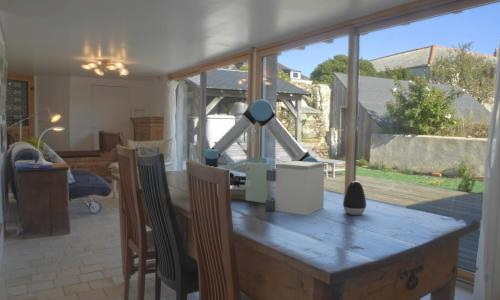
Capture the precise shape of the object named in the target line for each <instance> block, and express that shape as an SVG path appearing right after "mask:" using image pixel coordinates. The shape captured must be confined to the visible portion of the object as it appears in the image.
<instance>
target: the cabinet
mask: <svg viewBox="0 0 500 300" xmlns="http://www.w3.org/2000/svg"><path fill="white" fill-rule="evenodd" d="M318 162H319V161H318ZM318 162H304V161H285V162H279V163H275V169H276V172H275V181H274V184H275V186H274V198H275V211H274V212H281V213H288V214H295V215H301V216H308V215H310V214H313V213H315V212H317V211H319V210H321V209H324V197H325V196H324V192H325V191H324V189H325V162H319V163H318Z"/></svg>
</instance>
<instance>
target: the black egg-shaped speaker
mask: <svg viewBox="0 0 500 300" xmlns="http://www.w3.org/2000/svg"><path fill="white" fill-rule="evenodd" d="M365 194H366V193H365V190H364V188H363V186H362V184H361V183H360V181H358V180H352V181H351V182H350V183H349V184H348V186H347V188H346V191H345V193H344V197H343V202H342V206H343V209H344V211H345V212H346V213H347V215H351V216H360V215H363V213H364V212H365V210H366V208H367V199H366V195H365Z"/></svg>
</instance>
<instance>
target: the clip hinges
mask: <svg viewBox="0 0 500 300" xmlns="http://www.w3.org/2000/svg"><path fill="white" fill-rule="evenodd" d="M275 172H276V168H272V169H270V170H267V172H266V181H270V182H275ZM265 211H268V212H276V211H275V197H271V199H270V200H269V199H267V200H266V203H265Z"/></svg>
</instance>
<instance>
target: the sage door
mask: <svg viewBox="0 0 500 300" xmlns="http://www.w3.org/2000/svg"><path fill="white" fill-rule="evenodd" d="M267 170H271V164H270V163H264V162H249V161H248V162H245V176H246V181H251V187H249V186H245V196H244V197H245V201H246V202H247V201H249V202H254V203H256V202H257V203H263V204H266V200H267V199H269V200H271V198H270V196H271V195H270V193H271V191H270V189H271V188H270V187H271V185H270V184H271V181H266V172H267Z"/></svg>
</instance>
